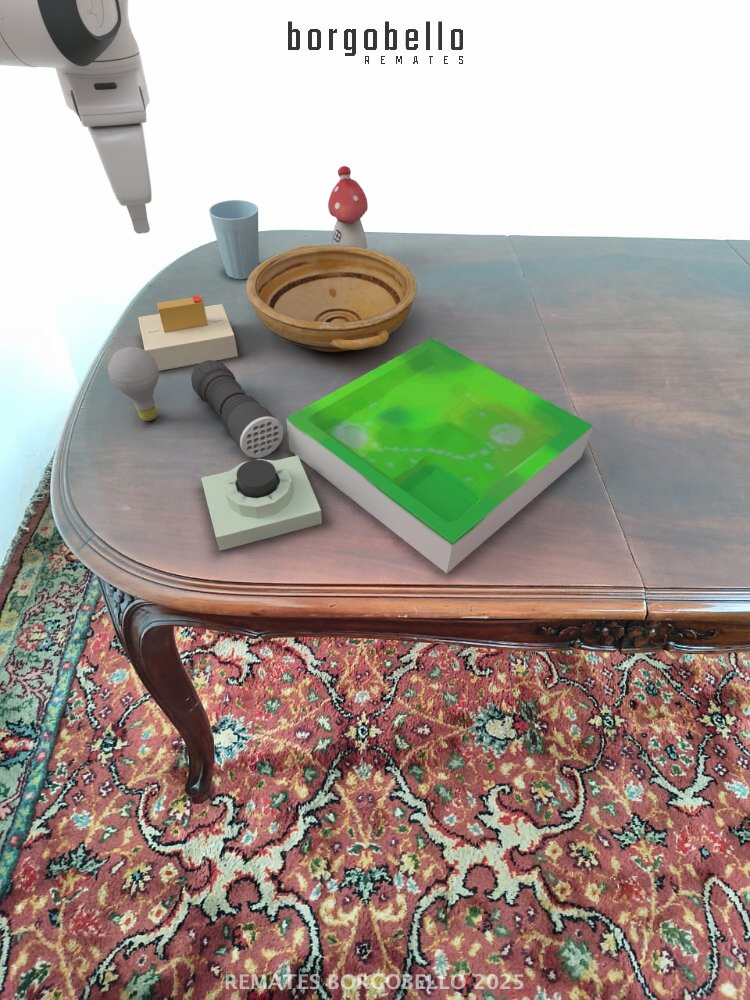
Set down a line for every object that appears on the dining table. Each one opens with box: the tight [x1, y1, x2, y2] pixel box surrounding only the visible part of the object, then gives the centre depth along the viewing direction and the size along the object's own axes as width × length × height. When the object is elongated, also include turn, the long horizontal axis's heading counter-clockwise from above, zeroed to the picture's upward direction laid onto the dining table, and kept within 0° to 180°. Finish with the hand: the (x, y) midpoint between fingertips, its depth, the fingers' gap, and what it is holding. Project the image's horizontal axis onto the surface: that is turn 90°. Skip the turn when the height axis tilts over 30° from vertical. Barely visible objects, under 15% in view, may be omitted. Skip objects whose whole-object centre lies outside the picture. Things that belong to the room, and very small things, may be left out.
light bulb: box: [107, 346, 160, 422], centre depth 71 cm, size 5×6×10 cm
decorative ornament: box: [327, 165, 369, 249], centre depth 99 cm, size 9×7×15 cm
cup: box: [208, 199, 260, 280], centre depth 98 cm, size 8×8×10 cm
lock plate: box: [138, 303, 239, 372], centre depth 84 cm, size 12×9×4 cm
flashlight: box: [190, 360, 284, 459], centre depth 72 cm, size 15×5×5 cm, turn 36°
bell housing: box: [200, 455, 323, 552], centre depth 63 cm, size 11×9×4 cm
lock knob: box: [156, 294, 208, 332], centre depth 81 cm, size 6×2×4 cm, turn 111°
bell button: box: [237, 459, 277, 498], centre depth 61 cm, size 4×4×2 cm
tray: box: [285, 337, 594, 575], centre depth 69 cm, size 25×25×5 cm
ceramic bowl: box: [245, 244, 418, 353], centre depth 86 cm, size 30×24×8 cm
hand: (138, 215), depth 75 cm, fingers open, 8 cm apart
